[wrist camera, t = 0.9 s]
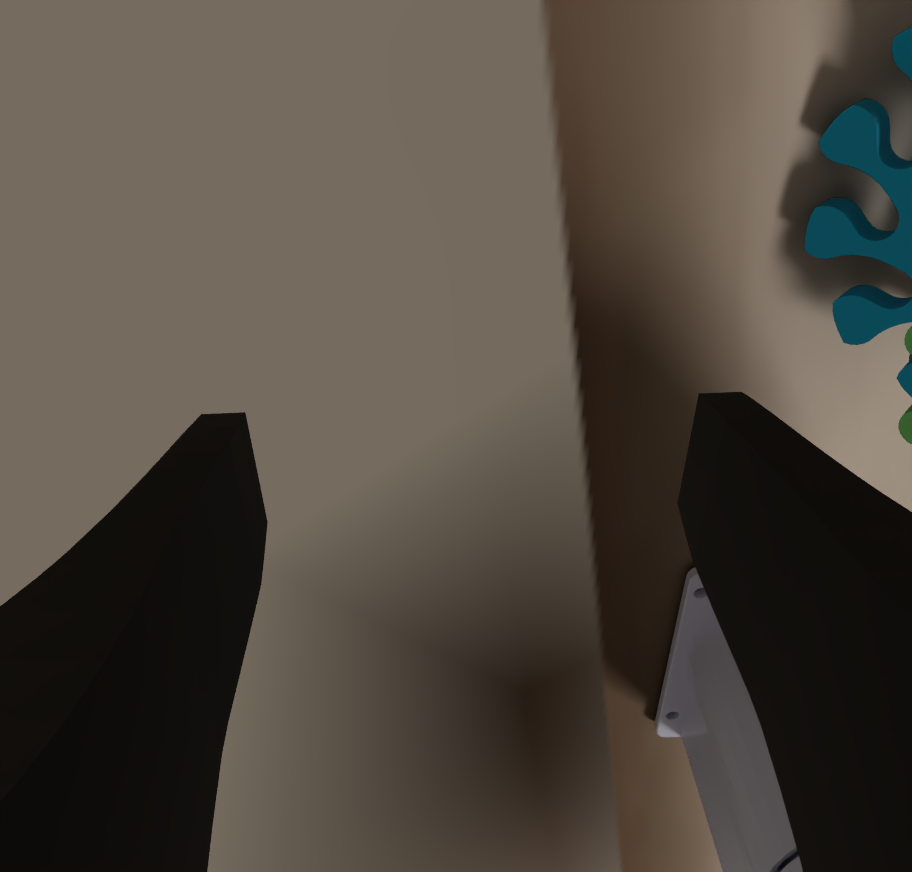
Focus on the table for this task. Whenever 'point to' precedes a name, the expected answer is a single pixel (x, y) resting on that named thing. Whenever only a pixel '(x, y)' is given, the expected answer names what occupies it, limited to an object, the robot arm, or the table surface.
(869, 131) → the teal lobed flat part
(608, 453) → the table surface
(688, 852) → the table surface
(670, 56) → the table surface
